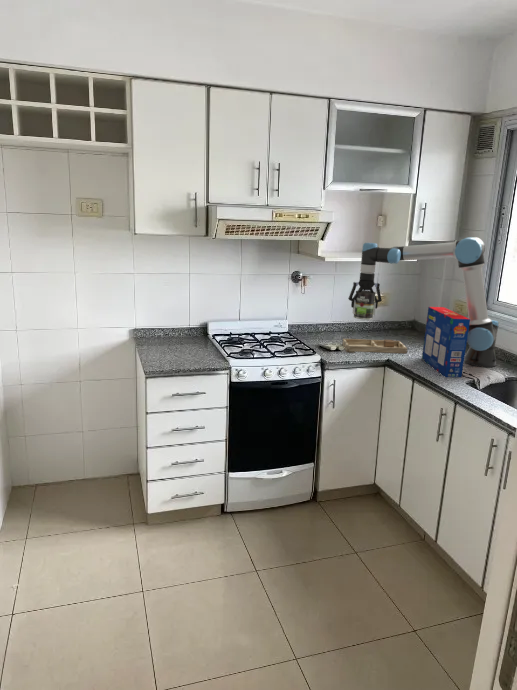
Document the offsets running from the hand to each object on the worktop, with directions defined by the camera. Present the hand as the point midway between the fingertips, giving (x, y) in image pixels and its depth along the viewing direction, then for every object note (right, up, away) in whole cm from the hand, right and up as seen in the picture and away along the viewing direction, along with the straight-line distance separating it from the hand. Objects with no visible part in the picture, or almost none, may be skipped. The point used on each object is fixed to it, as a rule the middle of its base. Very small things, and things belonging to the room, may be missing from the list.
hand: (363, 313), depth 279 cm
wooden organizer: (+7, -19, +5) cm, 21 cm away
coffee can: (0, -2, +1) cm, 2 cm away
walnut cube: (+15, -19, +5) cm, 24 cm away
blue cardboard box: (+33, -28, -23) cm, 50 cm away
